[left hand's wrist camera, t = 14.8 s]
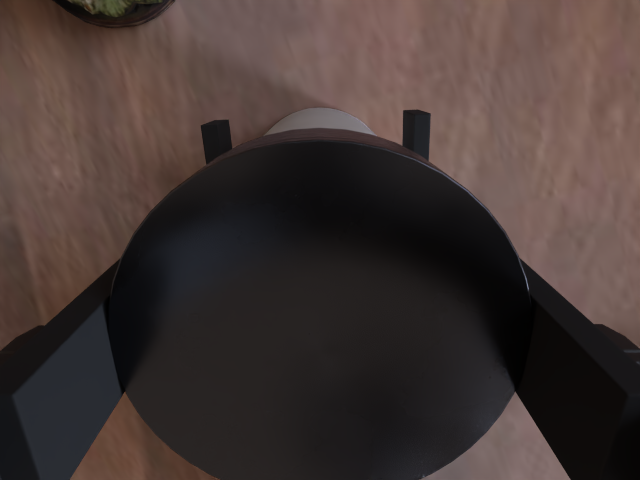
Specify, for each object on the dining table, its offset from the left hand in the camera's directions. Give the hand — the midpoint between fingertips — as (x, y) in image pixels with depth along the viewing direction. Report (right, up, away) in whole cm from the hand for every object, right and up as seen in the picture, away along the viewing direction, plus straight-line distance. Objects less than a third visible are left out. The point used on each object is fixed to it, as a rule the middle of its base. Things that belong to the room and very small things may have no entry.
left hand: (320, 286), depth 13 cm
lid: (0, -1, -3) cm, 3 cm away
